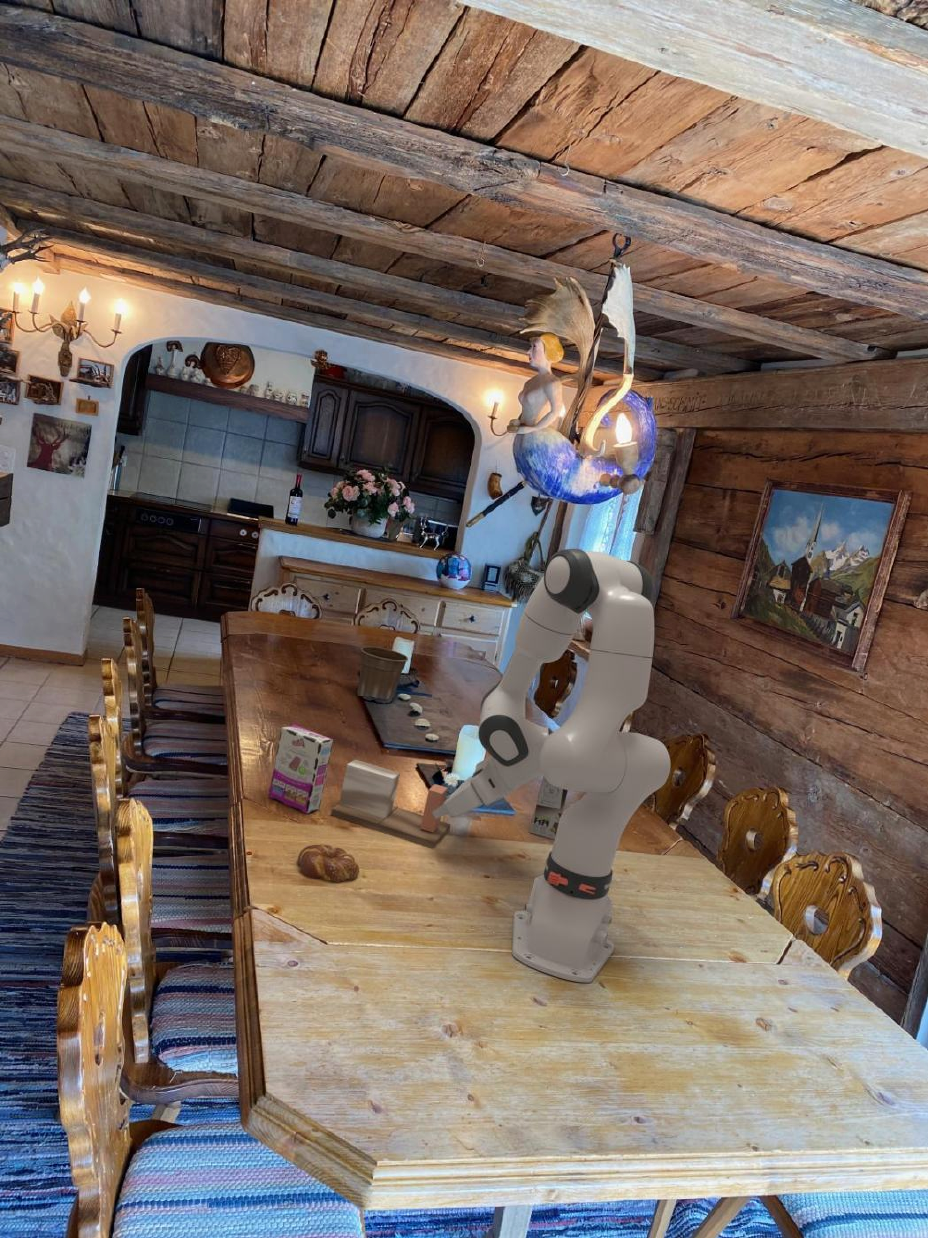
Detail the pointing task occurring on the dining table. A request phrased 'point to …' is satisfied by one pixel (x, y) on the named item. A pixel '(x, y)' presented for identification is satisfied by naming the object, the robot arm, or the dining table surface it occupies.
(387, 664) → the plant pot
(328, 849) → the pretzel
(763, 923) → the dining table surface
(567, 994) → the dining table surface
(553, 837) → the coffee box
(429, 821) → the stub
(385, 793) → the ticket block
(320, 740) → the candy bar box
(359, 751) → the dining table surface
